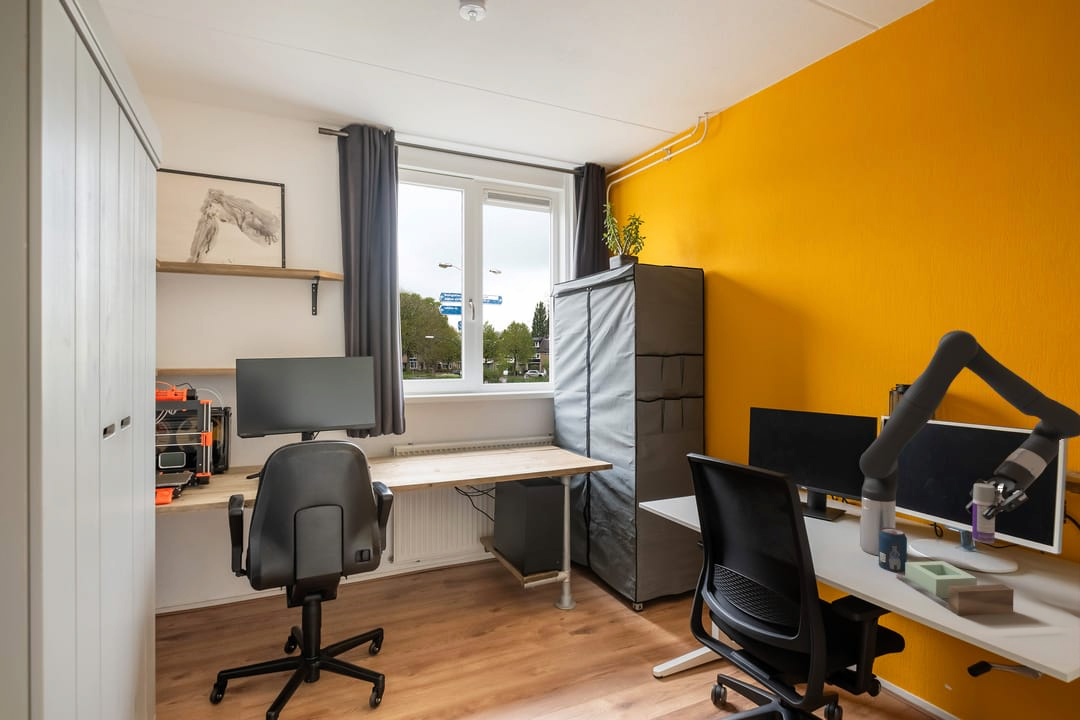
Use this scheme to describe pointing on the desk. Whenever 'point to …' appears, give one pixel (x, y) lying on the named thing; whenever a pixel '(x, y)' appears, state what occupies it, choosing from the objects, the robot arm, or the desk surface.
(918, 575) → the socket block
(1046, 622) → the desk surface
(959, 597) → the walnut track
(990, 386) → the robot arm
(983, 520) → the container
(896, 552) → the soda can
